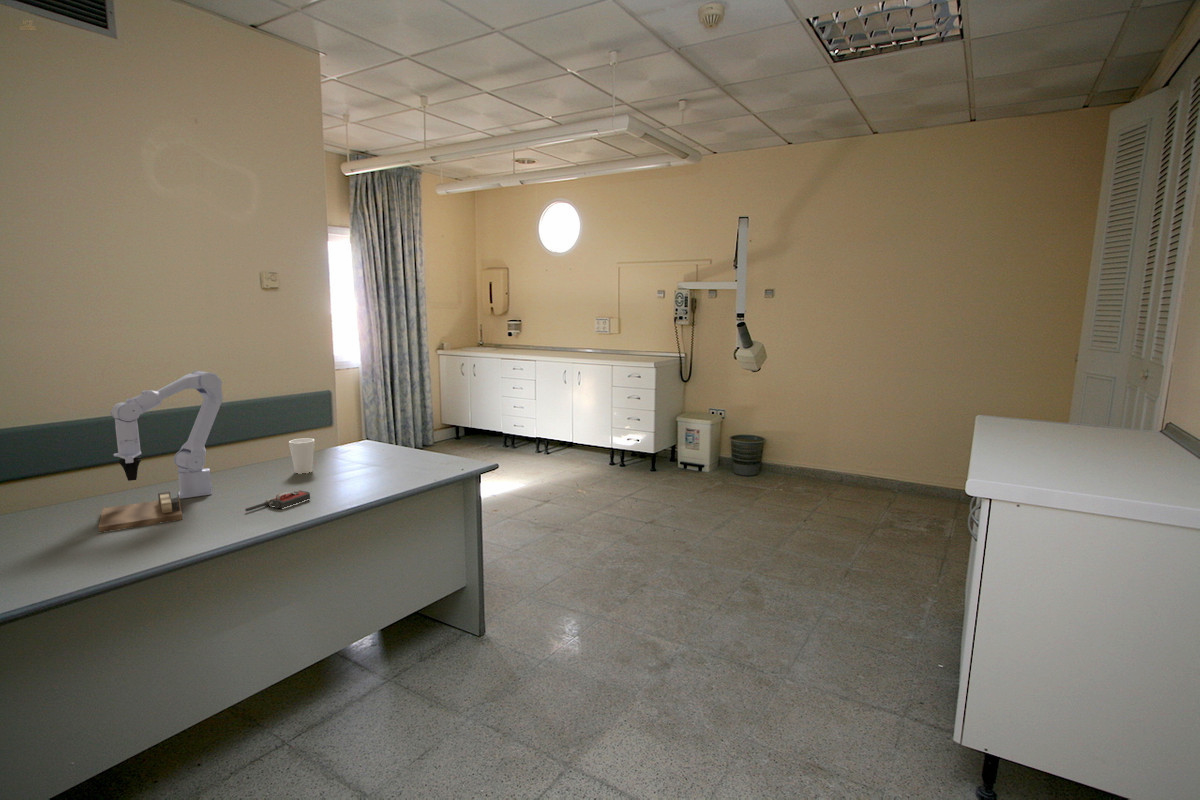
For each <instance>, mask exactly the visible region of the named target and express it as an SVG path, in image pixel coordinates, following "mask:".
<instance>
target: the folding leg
mask: <svg viewBox="0 0 1200 800" xmlns="http://www.w3.org/2000/svg"><path fill="white" fill-rule="evenodd" d="M157 499H158V500H159V503H161V507H162V512H163V513H168V512H172V504H171V499H172V498H171V492H170V491H161V492H159V493H157Z"/></svg>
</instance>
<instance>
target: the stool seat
mask: <svg viewBox="0 0 1200 800" xmlns="http://www.w3.org/2000/svg"><path fill="white" fill-rule="evenodd" d="M171 504H172V512H168V513H163V512H162V507H161V503H159V499H158V500H152V501H146V502H140V503H139V502H138V503H132V504H123V505H116V506H110V507H104V508H103V507H102V511H101V514H100V519H99V524H98V533H99V532H102V533H105V532H104V531H108V532H111V531H110V530H114V531H119V530H118V529H120V530H125V529H124V528H127V529H132V528H131V527H133V528H139V527H145V526H151V525H150V524H152V525H156V524H155V523H158V524H161V523H160V522H164V523H168V522H167V521H170V522H175V521H174V520H176V521H182V520H183V513H182V505H181V499H179V497H174V498H171ZM181 519H182V520H181ZM144 525H145V526H144ZM138 526H139V527H138Z"/></svg>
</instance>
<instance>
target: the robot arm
mask: <svg viewBox="0 0 1200 800" xmlns="http://www.w3.org/2000/svg"><path fill="white" fill-rule="evenodd" d="M222 384H223V380H222V379H221V378H220V377H219V376H218V374H216V373H214V372H212V371H211V372H209V371H208V372H207V371H202V370H195V371H193V372H191V373H187V374H185V375H183V376H181V377H180V378H178V379H176V380H175V381H173V382H170V383H169V384H167V385H165V386H163V387H161V388H159V389H157V390H152V389H148V390H146V389H144V390H142V391H141V392H140V393H141V394H140V393H139V394H138V395H137V396H136V395H135V396H134V397H131V398H127V399H125V402H124V401H123V402H118V403H115V404H114V405H113V407H112V408H111V411H110V415H111V417H112V418H113V419H114V424H115V425H114V427H115V435H116V444H117V453H116V452H115V453H113V457H118V458H120V459H119V460H118V462H119V464H120V465H121V467H122V469H123V471H124V474H125V476H126V478H127V481H128V482H130V481H137V479H138V469H139V466H140V463H141V461H142V456H140V455H142V451H141V444H140V433H139V424H138V419H139V417H140V415H142V414H145V413H147V412H149V411H151V410H153V409H155V408H156V407H158V406H161V404H162V403H163V400H165V399H167V398H168V397H171V396H174V395H175V394H178V393H179V392H180V393H181V392H183V391H185V390H187V389H188V390H189V389H190V390H193V389H194V390H196V391H197V392H199V395H201V397H202V399H203V401H202V404H201V406H200V409H199V411H198V414H197V416H196V419H195V420H194V424H193V425H192V429H191V431H190V433H189V436H188V439H187V440H186V442H185V443H184V444H182V445H181V448H180V449H179V450H178V451H177V452H176V453H175V455H174V457H173V462H174V464H175V465H176V466H177V467H178V468H177V475H178V477H177V478H178V485H179V488H178V489H179V491H178V492H177V493H178V498H179V499H180V500H181V499H188V498H189V499H190V498H196V497H202V496H203V497H204V496H208V495H212V493H213V492H212V488H213V484H212V481H211V469H210V468H209V467H207V468H206V467H205V465H206V455H207V450H206V447H205V445H206V443H207V440H208V437H209V435H210V432H211V430H212V428H213V425H214V423H215V421H216V418H217V414H218V412H219V410H220V407H221V405H222V402H223V400H224V397H223V391H222ZM204 467H205V468H204Z"/></svg>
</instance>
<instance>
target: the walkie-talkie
mask: <svg viewBox="0 0 1200 800" xmlns="http://www.w3.org/2000/svg"><path fill="white" fill-rule="evenodd" d="M307 499H310V500H311V493H310V492H309V491H306V490H301V489H300V490H293V492H290V491H285V492H282V493H279V494H276V496H275V497H272V498H269V499H266V500H265V502H262V503H260V504H257V505H253V506H250V507H247V508H245V512H250V511H253V510H256V509H259V508H262V507H269V506H270V507H269V508H272V507H271V506H275V508H274V509H276V508H284V507H287V506H290V505H293V504H296V503H299V502H302V501H304V500H307ZM267 505H269V506H267Z"/></svg>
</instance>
